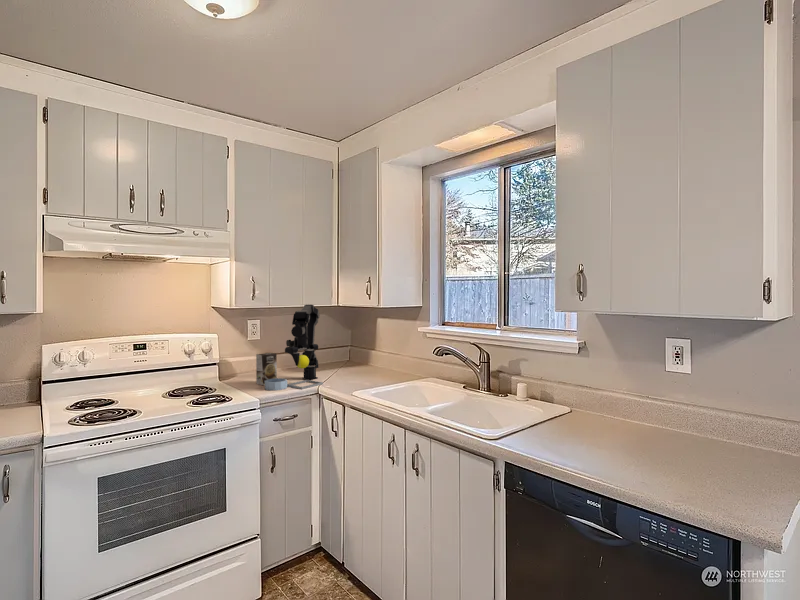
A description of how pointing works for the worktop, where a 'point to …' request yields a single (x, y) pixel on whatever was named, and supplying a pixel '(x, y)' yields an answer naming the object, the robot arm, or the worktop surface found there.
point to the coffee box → (266, 367)
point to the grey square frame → (304, 382)
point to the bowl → (276, 384)
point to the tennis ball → (303, 361)
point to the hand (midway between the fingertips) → (302, 364)
